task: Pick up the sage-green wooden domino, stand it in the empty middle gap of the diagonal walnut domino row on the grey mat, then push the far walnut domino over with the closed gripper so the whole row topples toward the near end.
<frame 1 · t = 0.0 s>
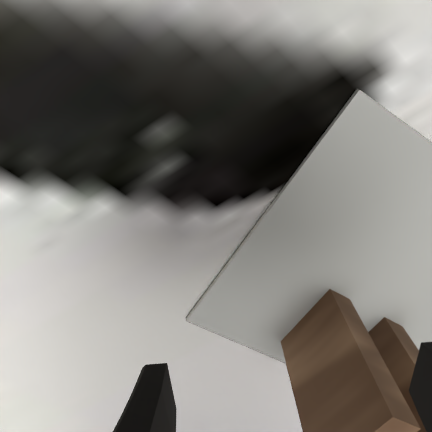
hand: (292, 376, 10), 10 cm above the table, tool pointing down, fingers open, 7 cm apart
domino 2: (366, 346, 24), resting on grey mat
domino 1: (314, 321, 22), resting on grey mat
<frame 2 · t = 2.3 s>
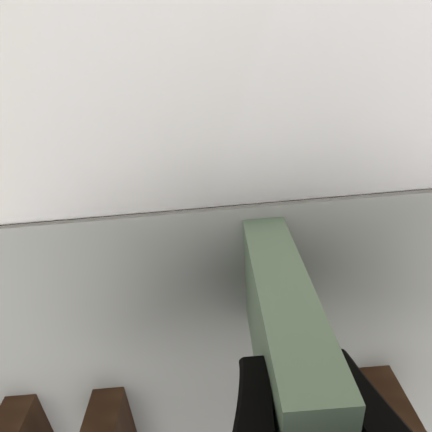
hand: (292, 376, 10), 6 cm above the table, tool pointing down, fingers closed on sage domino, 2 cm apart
domino 2: (118, 418, 19), resting on grey mat
domino 1: (35, 425, 19), resting on grey mat
grey mat: (193, 355, 18), on the table
sage domino: (263, 270, 15), resting on grey mat, touching gripper
domino 5: (367, 398, 19), resting on grey mat
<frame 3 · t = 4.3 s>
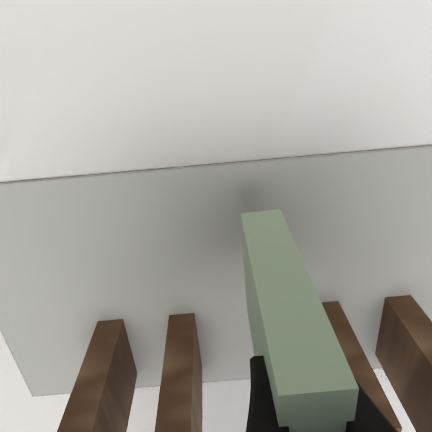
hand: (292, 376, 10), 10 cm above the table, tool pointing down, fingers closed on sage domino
domino 2: (186, 342, 23), resting on grey mat
domino 1: (118, 348, 23), resting on grey mat
grey mat: (252, 285, 22), on the table
sage domino: (262, 262, 15), point 5 cm above the table, touching gripper
domino 4: (323, 331, 23), resting on grey mat
domino 5: (391, 325, 23), resting on grey mat
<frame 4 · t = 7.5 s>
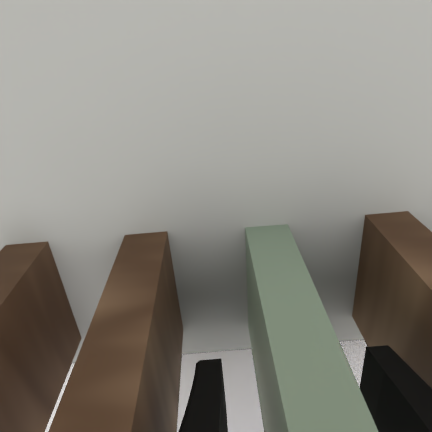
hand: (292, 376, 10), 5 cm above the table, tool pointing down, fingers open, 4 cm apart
domino 2: (156, 286, 14), resting on grey mat
domino 1: (46, 295, 15), resting on grey mat
grey mat: (264, 182, 13), on the table
sage domino: (266, 279, 14), resting on grey mat
domino 4: (377, 267, 14), resting on grey mat
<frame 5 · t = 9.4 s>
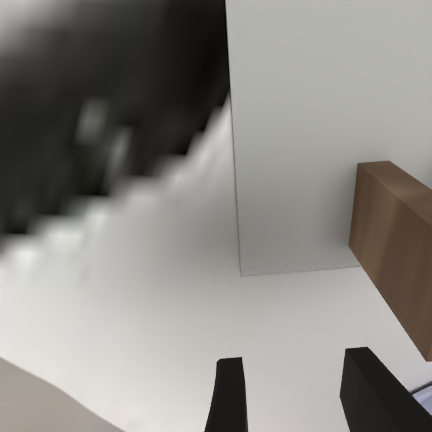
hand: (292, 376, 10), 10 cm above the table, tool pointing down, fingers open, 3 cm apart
domino 1: (367, 206, 19), resting on grey mat
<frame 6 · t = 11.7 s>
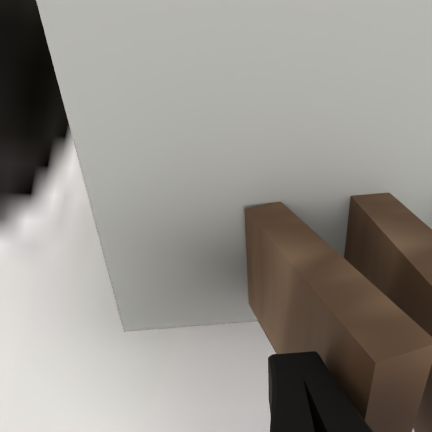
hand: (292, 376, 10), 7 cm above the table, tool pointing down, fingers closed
domino 2: (363, 245, 16), resting on grey mat
domino 1: (263, 255, 16), resting on grey mat, tilted 14°
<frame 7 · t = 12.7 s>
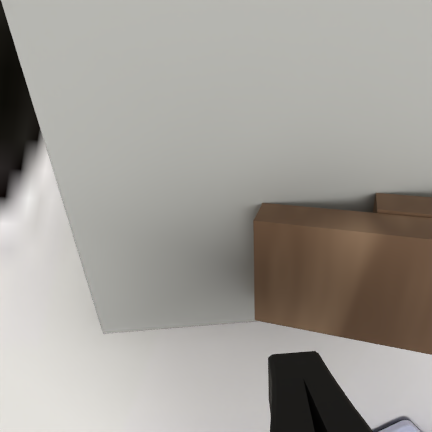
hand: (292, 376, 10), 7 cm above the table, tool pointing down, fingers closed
domino 2: (367, 253, 15), point 1 cm above the table, tilted 69°, touching domino 1, grey mat, sage domino
domino 1: (258, 263, 15), point 1 cm above the table, tilted 69°, touching domino 2, grey mat
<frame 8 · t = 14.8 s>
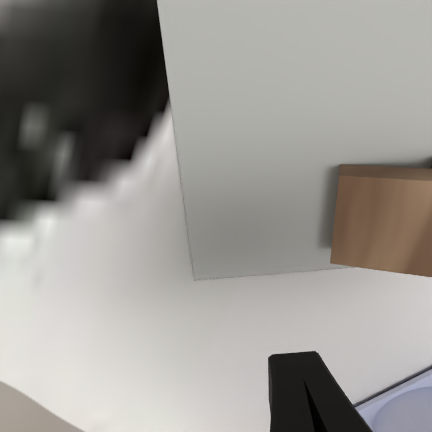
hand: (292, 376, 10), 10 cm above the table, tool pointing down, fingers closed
domino 1: (334, 215, 19), point 1 cm above the table, tilted 69°, touching domino 2, grey mat
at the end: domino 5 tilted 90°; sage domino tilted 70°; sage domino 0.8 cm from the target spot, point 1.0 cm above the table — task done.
